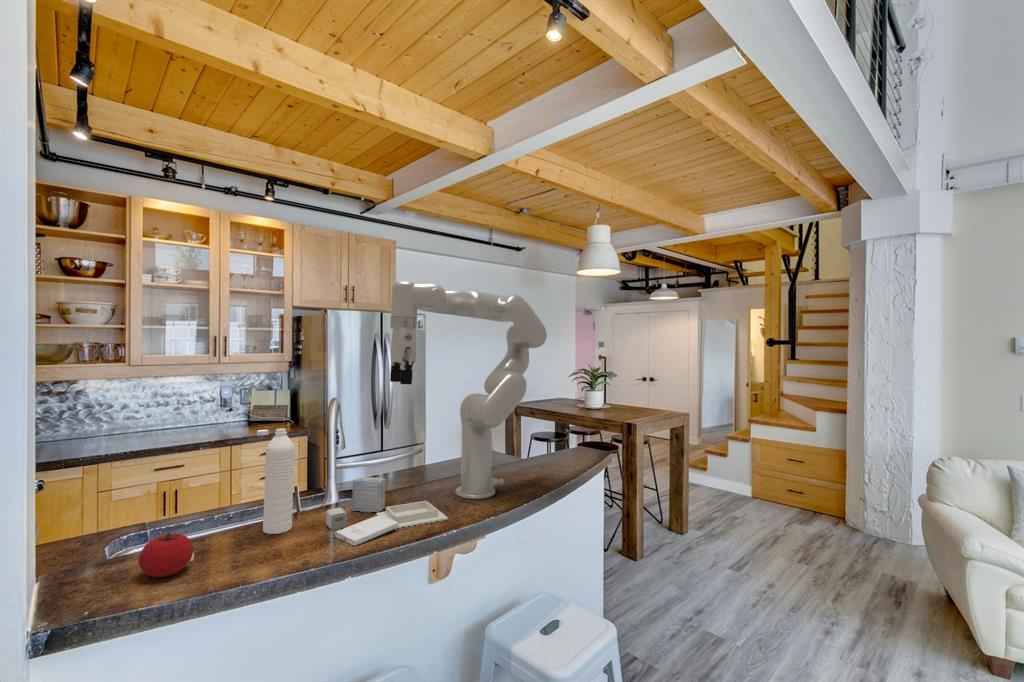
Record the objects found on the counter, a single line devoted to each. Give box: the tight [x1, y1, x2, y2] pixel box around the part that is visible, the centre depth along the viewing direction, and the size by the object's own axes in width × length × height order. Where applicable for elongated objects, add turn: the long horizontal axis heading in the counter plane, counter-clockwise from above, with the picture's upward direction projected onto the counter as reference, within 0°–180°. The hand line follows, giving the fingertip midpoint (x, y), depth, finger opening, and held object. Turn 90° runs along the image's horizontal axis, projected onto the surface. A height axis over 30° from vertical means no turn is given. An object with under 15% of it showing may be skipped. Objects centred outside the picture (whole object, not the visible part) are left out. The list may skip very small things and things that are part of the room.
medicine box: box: [351, 476, 386, 513], centre depth 131 cm, size 8×4×9 cm, turn 84°
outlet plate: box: [375, 500, 449, 530], centre depth 126 cm, size 16×12×2 cm
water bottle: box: [256, 427, 296, 535], centre depth 115 cm, size 9×6×25 cm
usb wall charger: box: [325, 507, 348, 532], centre depth 120 cm, size 4×7×4 cm, turn 36°
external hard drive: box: [334, 515, 398, 547], centre depth 114 cm, size 2×8×12 cm
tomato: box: [137, 532, 194, 578], centre depth 93 cm, size 9×9×8 cm
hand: (400, 382), depth 135 cm, fingers open, 9 cm apart
